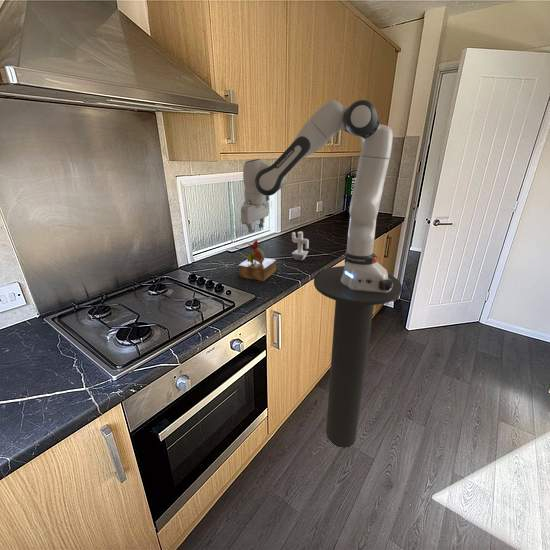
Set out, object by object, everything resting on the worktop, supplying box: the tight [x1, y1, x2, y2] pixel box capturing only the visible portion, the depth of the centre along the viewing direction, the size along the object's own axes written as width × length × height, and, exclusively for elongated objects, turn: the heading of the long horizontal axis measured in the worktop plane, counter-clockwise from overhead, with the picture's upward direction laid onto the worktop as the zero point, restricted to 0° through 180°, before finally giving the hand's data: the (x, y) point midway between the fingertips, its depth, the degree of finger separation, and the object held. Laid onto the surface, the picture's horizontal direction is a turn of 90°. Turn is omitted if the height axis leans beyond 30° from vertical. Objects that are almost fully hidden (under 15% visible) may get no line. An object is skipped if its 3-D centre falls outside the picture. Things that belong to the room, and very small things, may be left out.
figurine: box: [291, 231, 310, 261], centre depth 158 cm, size 7×9×15 cm
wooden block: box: [237, 257, 277, 282], centre depth 141 cm, size 14×14×6 cm
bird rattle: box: [246, 239, 266, 264], centre depth 137 cm, size 6×11×9 cm
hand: (256, 229), depth 134 cm, fingers open, 8 cm apart
